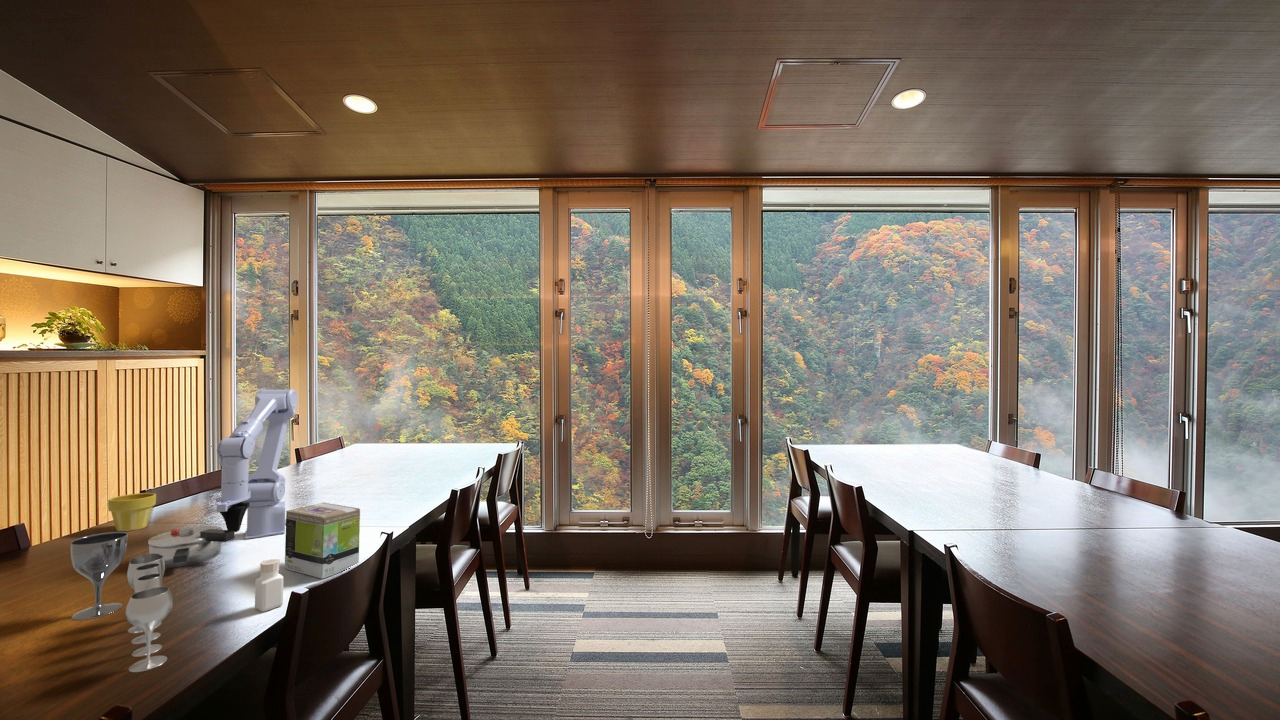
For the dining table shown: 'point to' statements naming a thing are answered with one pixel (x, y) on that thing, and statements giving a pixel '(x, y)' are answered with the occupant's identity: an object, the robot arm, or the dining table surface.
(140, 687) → the dining table surface
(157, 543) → the cooker lid
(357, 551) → the tea box
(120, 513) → the plant pot
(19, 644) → the dining table surface
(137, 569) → the goblet set
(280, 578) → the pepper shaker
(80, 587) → the dining table surface
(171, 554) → the cooker pot
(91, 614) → the wine glass
